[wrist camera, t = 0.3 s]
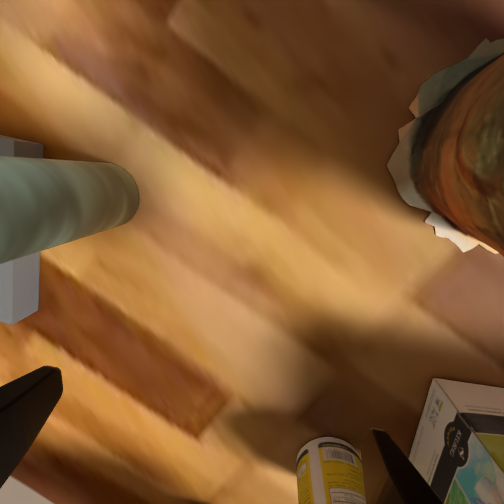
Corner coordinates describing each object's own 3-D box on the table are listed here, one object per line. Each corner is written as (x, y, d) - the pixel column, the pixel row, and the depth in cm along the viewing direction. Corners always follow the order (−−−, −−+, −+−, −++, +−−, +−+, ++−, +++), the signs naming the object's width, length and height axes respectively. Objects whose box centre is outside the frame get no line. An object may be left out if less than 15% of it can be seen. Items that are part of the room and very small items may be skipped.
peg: (135, 232, 23) (-44, 305, 10) (77, 218, 23) (-171, 273, 10) (142, 170, 22) (-50, 166, 9) (81, 156, 22) (-194, 133, 9)
